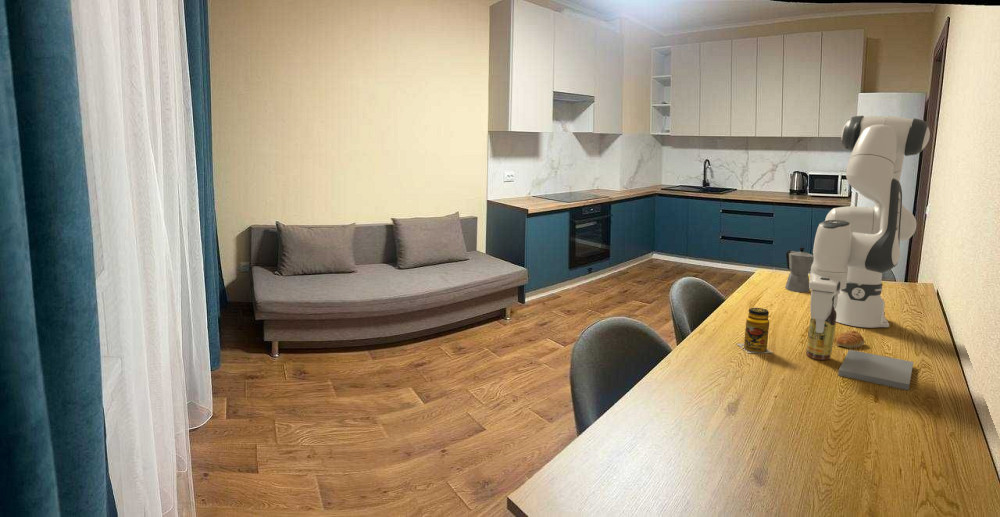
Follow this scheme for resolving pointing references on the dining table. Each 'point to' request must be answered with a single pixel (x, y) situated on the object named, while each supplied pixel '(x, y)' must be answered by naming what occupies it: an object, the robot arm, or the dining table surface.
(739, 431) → the dining table surface
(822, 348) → the sauce bottle
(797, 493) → the dining table surface
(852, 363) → the serving board
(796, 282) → the coffeepot
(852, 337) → the pastry
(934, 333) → the dining table surface
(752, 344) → the condiment
